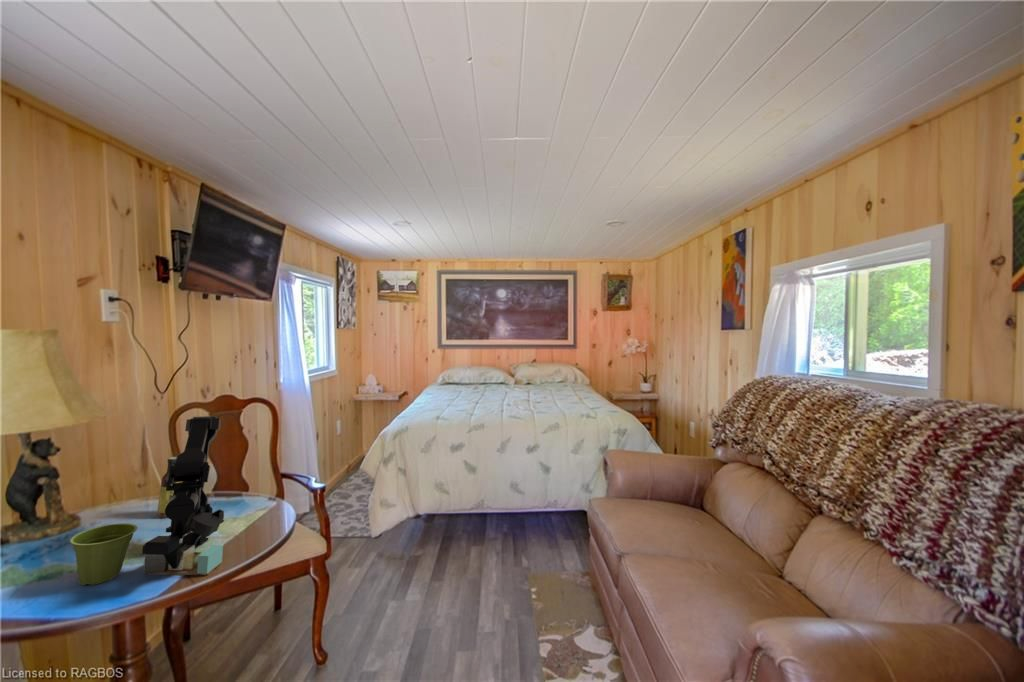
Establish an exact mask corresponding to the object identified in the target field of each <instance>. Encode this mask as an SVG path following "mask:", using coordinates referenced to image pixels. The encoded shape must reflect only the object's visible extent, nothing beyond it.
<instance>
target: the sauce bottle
mask: <svg viewBox="0 0 1024 682" xmlns="http://www.w3.org/2000/svg"><path fill="white" fill-rule="evenodd" d="M176 458H177V456H170V457H168V458H167V468H166V472H165V474H164V475H163V476H162V478H161V483H160V488H159V489H160V490H159V496H158V505H157V517H158V518H161V519H164V518H168V517H167V516H166V515H165V508H166V506H167V504H168V503H169V501H170V499H171V498H172V496H173V493H174V490H172V491H166V488H167V483H168V478H169V473H170V468H171V465H174V463H175V461H176ZM173 483H181V482H174V478H173V481H172V484H173ZM172 484H171V486H172Z"/></svg>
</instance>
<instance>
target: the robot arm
mask: <svg viewBox="0 0 1024 682" xmlns="http://www.w3.org/2000/svg"><path fill="white" fill-rule="evenodd" d="M221 424H222V423H221V418H217V415H206V416H193V417H191V418H190V419H189V418H188V419H186V422H185V429H184V431H185V432H188V433H187V434H188V437H187V440H186V443H185V447H184V451H183V452H181V453H180V454H178V455H177V456H176V457H177V458H176V461H175V463H174V465H171V468H170V473H169V478H168V483H167V488H166V491H172V490H174V493H173V496H172V498H171V499H170V501H169V503H168V504H167V506H166V508H165V515H166V516H167V517H166V518H167V519H169V520H170V525H169V526H168V527H166V528H165V533H170V534H169V535H157V536H155V537H154V538H153V537H152V539H150V540H148V541H146V542H145V543H144V544H143V545H142V550H141V555H144V556H145V555H164V556H165V558H166V559H167V561H168V563H169V564H170V566H171V567H172V569H176V568H177V567H178V564H179V559H180V554H181V549H182V548H183V547H184V546H185V545H195V548H194V550H195V549H196V548H198V547H200V546H201V545H203V544H204V543H205V542H207V541H208V540H209V537H210V536H211V535H212V534H214V533H215V532H218V529H219V528H220V525H221V524H223V523H224V521H225V520H224V519H225V518H224V517H225V510H222V509H217V510H215V511H213V509H214V508H213V507H212V505H211V503H209V498H208V496H207V494H206V493H205V491H204V489H205V484H206V483H208V482H209V478H210V477H209V476H210V470H211V465H209V461H208V458H209V452H210V451H209V450H210V444H211V443H212V442H213V441H214V440H215V438H216V437H217V435H218V431H220V430H221ZM173 478H174V482H181V483H173V484H172V481H173ZM171 484H172V486H171Z"/></svg>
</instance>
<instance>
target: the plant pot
mask: <svg viewBox="0 0 1024 682" xmlns="http://www.w3.org/2000/svg"><path fill="white" fill-rule="evenodd" d="M137 530H138V525H136V524H134V523H127V522H126V523H124V522H123V523H121V522H120V523H111V524H106V525H101V526H96V527H93V528H89V529H87V530H84V531H81V532H79V533H77V534H76V535H74V536H72V537H71V538H70V539H69V542H70V544H71V545H72V546H73V552H75V559H76V560H75V561H76V568H77V577H78V578H77V579H78V584H80V585H81V586H85V585H90V586H91V585H98V584H101V583H105V582H108V581H110V580H112V579H114V578H115V577H116V576H118V575H120V574H121V570H122V567H123V564H124V562H125V560H126V555H127V552H128V549H129V545H130V542H131V541H132V539H133V536H134V533H135V532H136V531H137Z"/></svg>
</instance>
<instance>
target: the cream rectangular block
mask: <svg viewBox="0 0 1024 682" xmlns="http://www.w3.org/2000/svg"><path fill="white" fill-rule="evenodd" d="M194 548H195V545H185V546H184V547H183V548H182V549H181V554H180V559H179V564H178V567H177V568H176V569H172V567H171V566H170V564H169V563H168V561H167V564H166V569H168V570H192V569H194V568H195V567H196V566H198V557H199V555H200V554H202V552H201V551H199V552H198V551H197V552H196V551H195V549H196V548H195V549H194Z"/></svg>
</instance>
